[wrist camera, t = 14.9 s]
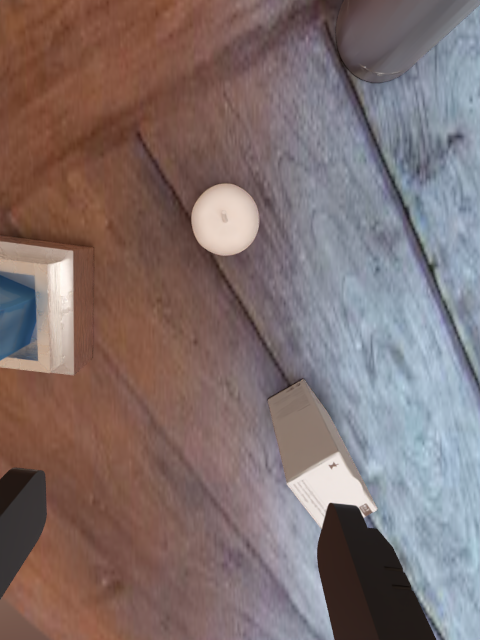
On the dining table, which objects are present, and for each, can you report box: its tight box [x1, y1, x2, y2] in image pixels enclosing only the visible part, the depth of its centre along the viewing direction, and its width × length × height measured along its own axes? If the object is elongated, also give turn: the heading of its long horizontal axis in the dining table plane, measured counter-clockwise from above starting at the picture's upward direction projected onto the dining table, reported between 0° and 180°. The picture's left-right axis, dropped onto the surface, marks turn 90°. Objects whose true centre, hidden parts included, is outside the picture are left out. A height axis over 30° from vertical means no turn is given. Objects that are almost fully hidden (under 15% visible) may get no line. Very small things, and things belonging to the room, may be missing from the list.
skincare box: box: [268, 379, 377, 529], centre depth 38 cm, size 8×6×15 cm
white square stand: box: [0, 235, 94, 375], centre depth 37 cm, size 14×14×8 cm
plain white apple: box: [191, 183, 259, 256], centre depth 34 cm, size 7×7×8 cm
